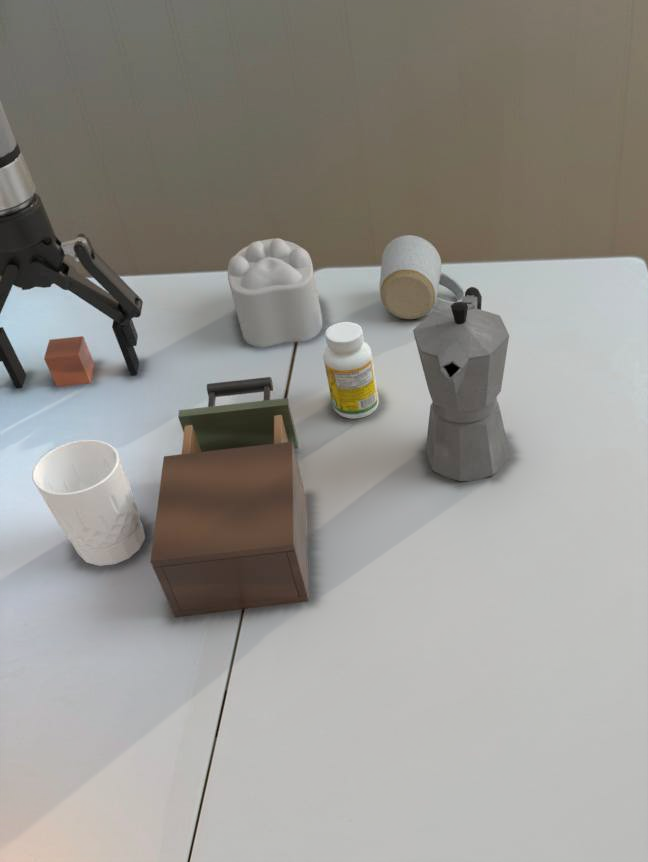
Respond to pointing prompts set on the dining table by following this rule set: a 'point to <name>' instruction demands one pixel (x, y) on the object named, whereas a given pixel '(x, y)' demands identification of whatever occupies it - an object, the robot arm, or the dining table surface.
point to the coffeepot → (464, 388)
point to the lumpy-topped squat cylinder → (275, 293)
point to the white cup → (91, 500)
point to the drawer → (238, 419)
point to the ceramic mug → (414, 278)
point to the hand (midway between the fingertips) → (78, 375)
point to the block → (69, 361)
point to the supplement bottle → (350, 371)
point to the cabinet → (231, 530)
